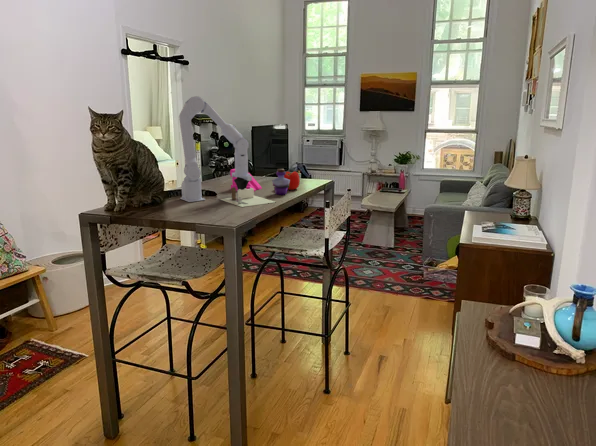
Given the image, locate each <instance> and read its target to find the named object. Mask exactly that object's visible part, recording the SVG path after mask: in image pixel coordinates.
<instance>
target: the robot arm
mask: <svg viewBox="0 0 596 446" xmlns="http://www.w3.org/2000/svg"><path fill="white" fill-rule="evenodd" d="M198 113H201V114H203V115H206V116H208V117H209V118H210V119H211V120H212V121H213V122H214V123H215V124H216V125H217V126H218V127H219V128H220V131H221V135H223V137H225V138H226V139H227V140H228V141H229V143H231V144H232V146H233V148H234V169H235V172H234V173H232V177H237V179H234V181H235V183H236V185H237V188H238V189H241V190H244V189H245V188H246V187H247V184H248V182H249V181H251V180H252V177H253V175H252V176H250V174H251V173H250V174H248V173H249V165H248V164H249V160H248V159H249V155H248V149H249V147H250V144H249V141H248V140H247V139H246V138H244V137H243V136H244V135H243V134H242V133H240V132H239V131H238V130H237V128H236V126H235V125H234V124H231V123H227V122H226V121H225V120H224V119H223V118H222V117H221V115H220V114H219V113H218V112H217V111H216V110H215V109H214V108H213V107H212V106H211V105H210V103H208V102H207V101H206V100H205V101H204V99H203V98H202V97H201V96H199V95H198V96H197V95H196V96H191V97H189V98H188V99H187V100H186V101H185V103H184V106H182V109H181V111H180V113H179V115H178V118H179V119H178V120H179V125H180V133H181V134H180V135H181V140H182V147H183V154H184V155H183V156H184V168H183V173H184V175H185V177H184V178H183V181H182V182H181V184H180V185H181V197H179V198H180V200H183V201H185V202H188V203H192V202H193V203H194V202H200V201H206V198H205V197H202V196H203V195H202V178H201V175H202V174H201V172H202V171H201V170H200V167H199V165H198V161H197V156H196V149H195V142H194V141H195V140H194V135H193V134H194V133H193V127H192V119H194V117H195V116H196V115H197V114H198ZM232 177H231V178H232Z"/></svg>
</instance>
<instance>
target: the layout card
mask: <svg viewBox="0 0 596 446" xmlns="http://www.w3.org/2000/svg"><path fill="white" fill-rule="evenodd" d="M219 200H220V201H223V202H226V203H229V204H232V205H235V206H237V207H240V208H247V207H252V206H253V207H254V206H262V205H268V203H269V204H275V202H276V201H275V200H271V199H267V198H264V197H261V196H258V195H255V194H254V197H252V198H244V199H242V204H238V199H237V196H236V200H232V197H227V198H220V199H219Z"/></svg>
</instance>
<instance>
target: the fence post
mask: <svg viewBox="0 0 596 446" xmlns="http://www.w3.org/2000/svg"><path fill="white" fill-rule="evenodd" d="M230 191H231V198H232V200H236V197H237V191H236V188H234V187H233V188H231V187H230Z"/></svg>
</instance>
